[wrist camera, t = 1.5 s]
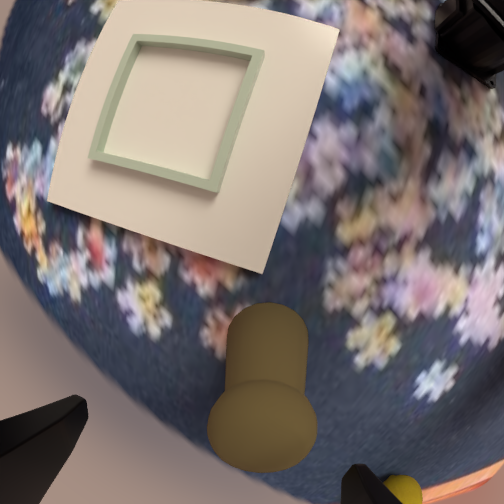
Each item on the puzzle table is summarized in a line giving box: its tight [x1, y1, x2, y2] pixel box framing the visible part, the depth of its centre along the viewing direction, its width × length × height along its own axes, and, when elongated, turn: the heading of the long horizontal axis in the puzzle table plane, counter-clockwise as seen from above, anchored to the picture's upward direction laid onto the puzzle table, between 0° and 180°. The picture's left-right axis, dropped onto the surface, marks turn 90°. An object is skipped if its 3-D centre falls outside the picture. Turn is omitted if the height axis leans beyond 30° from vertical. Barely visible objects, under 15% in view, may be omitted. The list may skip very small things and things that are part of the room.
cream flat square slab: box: [47, 0, 339, 274], centre depth 17 cm, size 18×18×2 cm
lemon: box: [383, 475, 422, 504], centre depth 20 cm, size 6×6×8 cm
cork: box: [207, 302, 317, 473], centre depth 16 cm, size 6×6×11 cm
